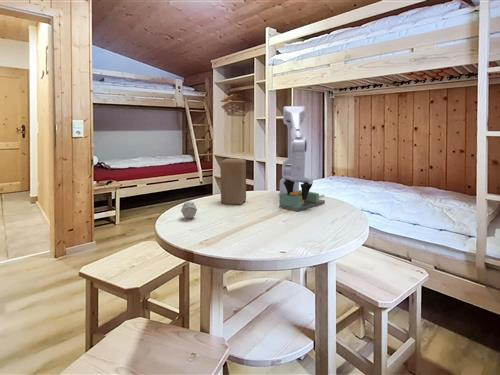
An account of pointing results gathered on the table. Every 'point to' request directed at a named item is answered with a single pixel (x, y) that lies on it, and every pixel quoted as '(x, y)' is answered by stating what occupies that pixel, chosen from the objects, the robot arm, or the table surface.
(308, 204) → the base
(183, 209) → the grey rounded lump
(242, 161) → the block
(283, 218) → the table surface
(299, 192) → the orange cube
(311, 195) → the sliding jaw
